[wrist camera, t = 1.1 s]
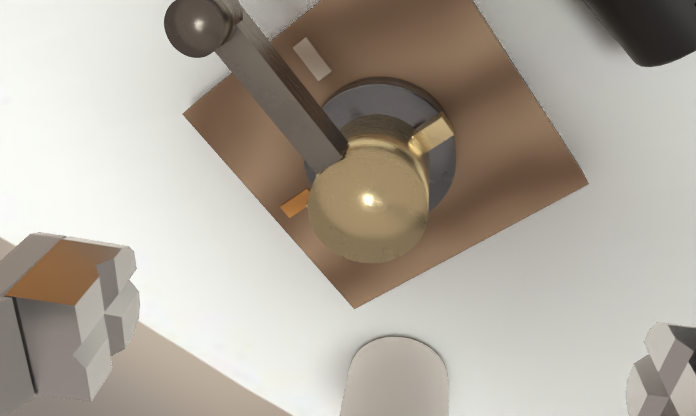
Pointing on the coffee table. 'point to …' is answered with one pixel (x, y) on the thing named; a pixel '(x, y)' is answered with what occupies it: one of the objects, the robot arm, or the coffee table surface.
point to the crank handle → (325, 138)
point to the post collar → (399, 103)
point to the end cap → (650, 28)
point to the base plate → (438, 80)
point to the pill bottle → (396, 380)
